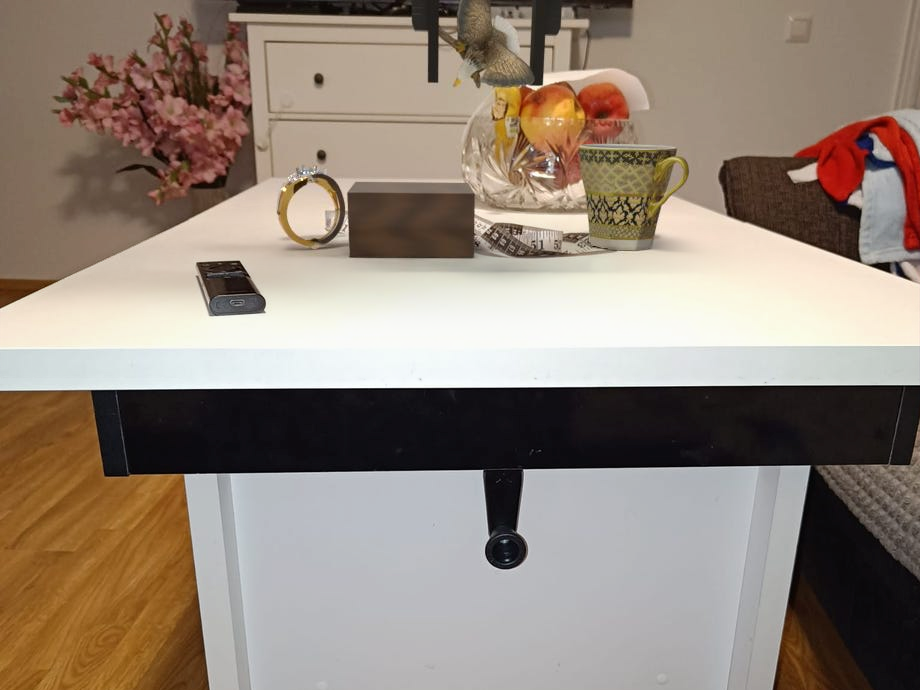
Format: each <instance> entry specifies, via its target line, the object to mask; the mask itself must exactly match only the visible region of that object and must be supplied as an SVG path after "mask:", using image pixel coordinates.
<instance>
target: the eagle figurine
mask: <svg viewBox="0 0 920 690" xmlns="http://www.w3.org/2000/svg"><path fill="white" fill-rule="evenodd" d="M458 4H459V5H458V9H457V12H456V25H457V26H456V27H457V28H456V33H457V34H456V35H457V38H454V37H453V36H451V35H450V34H449V33H447V32H446V30H444V29H443V28H442V26H441V25H440V24H439V39H441V40H442V41H444V42H445V43H447V44H448V45H449V46H451V47H452V49H455V51H456V53H458V54H459V56H460V58H461V59H462V60H463V61H462V62H461V65H460V67H459V68H458V70H457V72H456V78H455V80H454V82H453V84H452V87H453V88H457V86H458V85H460V84H461V83H463V82H466V80H468V79H469V78H470V79H472V80H473V83H474V84H475V87H476V88H477V89H480V88H481V85H482V84H486V85H487V86H490V87H491V86H493V87H496V88H507V89H509V88H512V87H514V88H519V87H521V86H522V87H527V86H529V85H531V84H532V83H533V82H534V78H535V77H534V75H533V72H532V70H531V68H530V65H529V64H527V63H526V62H525V60H524V59H522V58H521V57H519V55H520V53H521V46H520V38H519V35H518V32H517V29H516V28H515V27H514V26H513V25H512V24H511V23H510V22H509V21H508V20H506V19H505V18H504V17H502V16H501V15H499V14H496V15H495V16H494V19H492V4H491V0H459V3H458ZM483 71H484V72H483ZM482 72H483V73H482ZM480 73H482V75H481V74H480Z"/></svg>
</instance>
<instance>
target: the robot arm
mask: <svg viewBox="0 0 920 690" xmlns="http://www.w3.org/2000/svg"><path fill="white" fill-rule="evenodd" d="M531 1H532V2H531V21H530V23H531V24H530V46H529V67H530V68H531V70H532V72H533V75H534V77H535V78H534V82H533V83H532V84H531V85H528V86H529V87H541V86H542V87H543V86H544V72H545V53H546V52H545V50H546V49H545V48H546V37H556V36H558V35H559V33H560V30H561V27H562V12H563V11H562V10H563V0H531ZM411 24H412V25H411V26H412V27H413V30H414V32H423V33H427V83H428V84H438V83H439V64H440V63H439V60H440V59H439V57H440V55H439V53H440V52H439V50H440V48H439V47H440V46H439V44H440V41H439V40H440V37H439V25H440V0H411Z"/></svg>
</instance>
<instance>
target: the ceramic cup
mask: <svg viewBox="0 0 920 690" xmlns="http://www.w3.org/2000/svg"><path fill="white" fill-rule="evenodd" d="M677 151H678V148H677V147H676V146H669V145H657V144H656V145H655V144H635V143H634V144H630V143H629V144H628V143H627V144H626V143H595V144H594V143H589V144H587V143H586V144H580V145H578V155H579V156H578V157H579V158H578V159H579V167H580V168H579V169H580V176H581V180H582V181H581V182H582V185H583V189H584V194H585V200H586V201H585V202H586V210H587V220H588V221H587V222H588V232H589V241H590V245H591V247H592V246H597V247H603V248H608V249H607V250H610V251H643V250H648V249H649V250H650V249H651V248H652V247H653V243H654V238H655V234H656V231H657V230H656V229H657V227H658V226H657V225H658V221H659V218H660V214H661V210H662V206H663V205H664V204H665V203H666V202H667V201H668V199H669V198H670V197H671V196H673V194H674V193H676V192H678V190H680V189H681V188H682V187H683V186H684V185H685V184H686V183H687V180H688V179H689V174H690V168H689V163H688V161H687V160H686V158H684V157H683V156H678V155H677V153H678V152H677ZM676 163H678V164H680V165H681V167H682V170H683V173H682V178H681V180H680V181H679V182H678V183H677V184H676V185H675V186H674V187H672V188H671V189H670V190H669V191H667V190H668V186H669V183H670V180H671V176H672V173H673V168H674V165H675V164H676ZM597 247H596V248H597ZM603 248H602V249H603Z"/></svg>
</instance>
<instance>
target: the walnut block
mask: <svg viewBox="0 0 920 690" xmlns="http://www.w3.org/2000/svg"><path fill="white" fill-rule="evenodd" d="M346 199H347V200H346V202H347V225H348V227H347V228H348V252H349V253H348V255H349V258H409V259H410V258H415V259H416V258H417V259H418V258H423V259H424V258H426V259H427V258H428V259H429V258H431V259H433V258H434V259H439V258H440V259H443V258H444V259H474V258H475V225H476V224H475V220H476V219H475V218H476V217H475V215H476V214H475V213H476V194H475V192H474V190H473V188H472V187H471V185H470V183H469V182H427V181H426V182H421V181H418V182H417V181H416V182H415V181H413V182H412V181H409V182H408V181H354V183H353V184H352V186H351V187H350V188H349V189H348V190H347V192H346Z"/></svg>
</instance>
